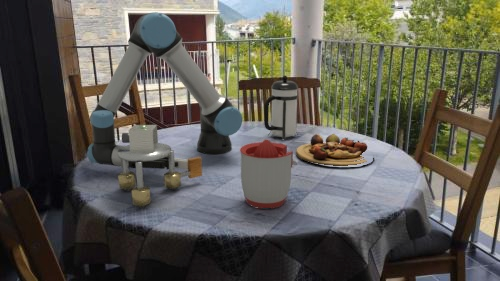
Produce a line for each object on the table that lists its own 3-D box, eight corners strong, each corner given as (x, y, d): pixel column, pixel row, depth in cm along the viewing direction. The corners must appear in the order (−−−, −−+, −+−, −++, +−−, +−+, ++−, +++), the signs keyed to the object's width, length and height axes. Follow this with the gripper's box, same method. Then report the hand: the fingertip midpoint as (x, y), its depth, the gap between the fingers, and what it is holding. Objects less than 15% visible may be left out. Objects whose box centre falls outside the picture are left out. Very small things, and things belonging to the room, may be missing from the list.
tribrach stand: (176, 185, 136) (173, 119, 130) (167, 210, 118) (163, 134, 112) (122, 186, 135) (117, 120, 129) (105, 210, 117) (97, 135, 111)
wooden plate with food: (336, 175, 147) (338, 154, 144) (280, 153, 171) (281, 134, 169) (389, 161, 165) (392, 142, 163) (331, 143, 190) (333, 126, 187)
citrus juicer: (303, 210, 118) (306, 144, 113) (245, 215, 115) (245, 148, 109) (287, 189, 133) (289, 131, 128) (236, 193, 130) (235, 133, 124)
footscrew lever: (169, 192, 129) (167, 154, 125) (162, 187, 133) (159, 150, 129) (204, 183, 137) (203, 147, 133) (197, 178, 141) (195, 143, 137)
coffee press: (267, 132, 205) (268, 73, 197) (298, 134, 203) (301, 74, 195) (263, 142, 188) (264, 77, 180) (298, 143, 186) (300, 78, 178)
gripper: (139, 161, 150) (197, 168, 143) (117, 173, 138) (179, 181, 131) (138, 142, 148) (196, 148, 141) (115, 152, 136) (178, 159, 129)
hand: (188, 164), depth 136 cm, fingers closed
